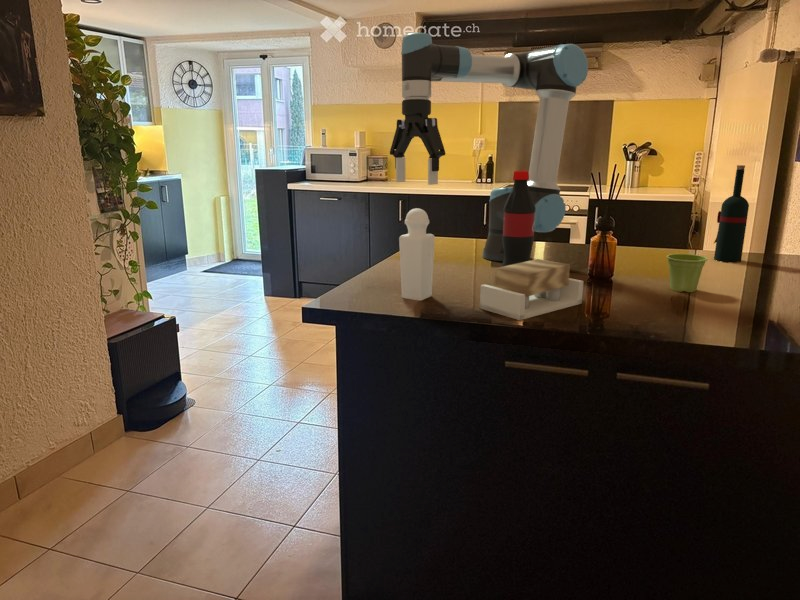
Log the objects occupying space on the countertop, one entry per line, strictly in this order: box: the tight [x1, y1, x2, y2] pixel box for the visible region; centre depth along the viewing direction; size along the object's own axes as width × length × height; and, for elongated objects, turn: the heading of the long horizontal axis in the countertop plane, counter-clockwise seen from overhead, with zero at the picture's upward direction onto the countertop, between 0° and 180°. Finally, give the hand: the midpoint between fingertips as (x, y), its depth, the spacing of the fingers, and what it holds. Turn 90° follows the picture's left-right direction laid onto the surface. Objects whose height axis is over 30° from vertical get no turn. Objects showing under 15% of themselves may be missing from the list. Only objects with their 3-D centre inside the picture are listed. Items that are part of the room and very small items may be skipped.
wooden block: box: [494, 258, 571, 297], centre depth 135 cm, size 16×9×5 cm, turn 132°
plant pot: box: [666, 253, 708, 293], centre depth 150 cm, size 9×9×9 cm
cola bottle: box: [500, 170, 536, 267], centre depth 157 cm, size 8×8×30 cm
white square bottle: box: [398, 207, 436, 302], centre depth 142 cm, size 6×6×22 cm
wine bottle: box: [713, 164, 750, 264], centre depth 186 cm, size 8×10×30 cm
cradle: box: [479, 277, 584, 321], centre depth 136 cm, size 22×12×6 cm, turn 127°
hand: (416, 183), depth 156 cm, fingers open, 13 cm apart
